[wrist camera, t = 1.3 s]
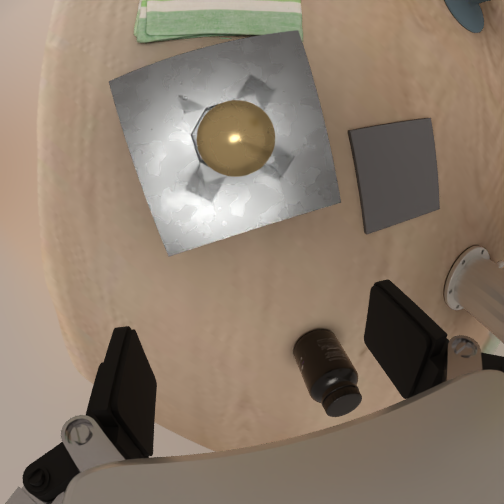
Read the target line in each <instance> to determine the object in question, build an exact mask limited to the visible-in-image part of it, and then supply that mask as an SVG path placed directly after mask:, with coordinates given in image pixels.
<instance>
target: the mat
mask: <svg viewBox="0 0 504 504" xmlns="http://www.w3.org/2000/svg"><path fill="white" fill-rule="evenodd" d="M348 134H349V139H350V144H351V149H352V154H353V159H354V164H355V170H356V176H357V182H358V188H359V194H360V201H361V208H362V216H363V223H364V232H365V233H366V234H369V233H372V232H375V231H378V230H381V229H384V228H387V227H390V226H393V225H396V224H398V223H401V222H404V221H407V220H410V219H413V218H416V217H418V216H421V215H424V214H427V213H430V212H432V211H435V210H438V209H440V206H439V185H438V172H437V161H436V151H435V143H434V136H433V129H432V122H431V118H424V119H417V120H409V121H402V122H396V123H389V124H383V125H377V126H371V127H366V128H360V129H355V130H350V131H348Z"/></svg>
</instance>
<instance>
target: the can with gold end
mask: <svg viewBox="0 0 504 504" xmlns="http://www.w3.org/2000/svg"><path fill="white" fill-rule="evenodd" d="M274 146H275V130H274V127H273V124H272V122H271V120H270V118H269V117H268V115H267V114H266V113H265V112H264V111H263V110H262V109H261V108H259V107H258V106H256V105H254V104H252V103H250V102H247V101H241V100H232V101H226V102H223V103H220V104H218V105H216V106H215V107H213V108H212V109H211V110H209V111H208V112H207V113H206V115H205V116H204V117H203V119H202V120H201V122H200V124H199V127H198V131H197V147H198V151H199V153H200V155H201V157H202V159H203V160H204V162H205V163H206V164H207V165H208V166H209V167H210V168H211V169H213V170H214V171H216V172H218V173H220V174H222V175H226V176H232V177H239V176H245V175H248V174H251V173H253V172H255V171H257V170H258V169H260V168H261V167H262V166H263V165H264V164H265V163H266V162H267V161H268V160H269V158H270V156H271V154H272V152H273V149H274Z"/></svg>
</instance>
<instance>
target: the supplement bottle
mask: <svg viewBox="0 0 504 504" xmlns="http://www.w3.org/2000/svg"><path fill="white" fill-rule="evenodd" d="M294 356H295V359H296V362H297V364H298V367H299V369H300V372H301V374H302V377H303V379H304V382H305V384H306V387H307V389H308V391H309V394H310V396H311V397H312V399H314V400H315V401H317V402H319V403H322V406H323V408H324V409H325V411H326V414H327V415H328V416H330V417H339V416H343V415H345V414H348V413H349V412H351V411H353V410H354V409H355V408H357V406H358V405H359V404H360V403H361V401H362V400H361V399H362V396H361V394H360V392H359V389H358V387H357V382H358V373H357V371H356V369H355V367H354V366H353V364H352V362H351V361H350V359H349V357H348V356H347V354H346V352H345V351H344V349H343V347H342V346H341V344H340V342H339V341H338V339H337V338H336V336H335V335H334V334H333V333H332V332H330V331H327V330H315V331H312V332H310V333H308V334H306V335H304V336H303V337H302V338H301V339H300V340H299V341H298V342H297V344H296V346H295V349H294Z"/></svg>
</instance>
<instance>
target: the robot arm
mask: <svg viewBox="0 0 504 504" xmlns="http://www.w3.org/2000/svg"><path fill="white" fill-rule="evenodd" d="M503 266H504V262H503V261H502V260H500V261H498V262H497V263H495V262H493V261H492V260H490V256H489V253H488V252H487V250H486V249H485V248H483V247H481V246H472V247H470V248H468V249H467V250H466V251H465V252H463V253H462V254H461V256H460V257H459V258H458V259H457V261H456V262H455V264H454V265H453V267H452V269H451V271H450V273H449V275H448V278H447V281H446V284H445V290H444V298H445V302H446V304H447V305H448V306H449V307H450V308H451V309H453V310H461V309H463V308H464V309H466V310H467V311H468V312H469V313H470V314H471V315H473V316H474V317H475V318H476V319H477V320H478V321H479V322H481V323H482V324H483V325H484V326H485V327H486V328H487V329H488V330H490V331H491V332H492V333H493V334H494V335H495V336H496V337H497V338H498V339H499V340H501V341H502V342H503V343H504V268H502V267H503ZM446 337H447V334H446V333H445V332H444V331H443V330H442V329H441V328H440V327H439V326H438V325H437V324H436V323H435V322H434V321H433V320H432V319H431V318H430V317H429V316H428V315H427V314H426V313H425V312H424V311H423V310H422V309H420V308H419V307H418V306H417V305H416V304H415V303H414V302H413V301H412V300H411V299H410V298H409V297H408V296H406V295H405V294H404V293H403V292H402V291H401V290H400V289H399V288H398V287H397V286H395V285H394V284H393V283H392V282H391V281H390V280H383V281H379V282H376V283H375V284H374V286H373V287H372V288H371V291H370V299H369V307H368V314H367V321H366V328H365V334H364V341H365V344H366V346H367V347H368V349H369V350H370V351H371V353H372V354H373V356H374V357H375V358H376V360H377V361H378V363H379V364H380V365H381V367H382V368H383V370H384V371H385V373H386V374H387V375H388V377H389V378H390V380H391V381H392V383H393V384H394V385H395V387H396V388H397V390H398V391H399V393H400V394H401V396H402V397H403V398H405V399H406V398H407V399H406V400H403V401H401V402H399V403H396V404H394V405H392V406H389V407H387V408H384V409H382V410H379V411H376V412H374V413H371V414H368V415H366V416H363V417H360V418H357V419H354V420H351V421H348V422H345V423H342V424H339V425H336V426H333V427H330V428H326V429H323V430H319V431H316V432H312V433H309V434H305V435H301V436H297V437H293V438H289V439H285V440H280V441H276V442H271V443H266V444H261V445H256V446H251V447H245V448H239V449H233V450H226V451H219V452H212V453H203V454H194V455H184V456H171V457H154V458H149V456H152V455H153V439H154V438H153V437H154V418H155V402H156V389H157V383H156V378H155V376H154V374H153V371H152V369H151V367H150V365H149V362H148V360H147V358H146V355H145V353H144V350H143V348H142V345H141V343H140V340H139V338H138V335H137V333H136V331H135V330H131V328H130V327H129V326H126V327H118V328H115V329H114V331H113V334H112V337H111V340H110V343H109V346H108V350H107V353H106V356H105V359H104V362H102V363H101V364H100V366H99V368H98V372H97V375H96V378H95V382H94V385H93V389H92V393H91V396H90V400H89V404H88V408H87V412H86V415H79V416H75V417H73V418H71V419H69V420H68V421H67V422H66V423H65V424H64V426H63V428H62V431H61V438H62V441H63V442H61V443H60V444H59V445H57V446H56V447H54V448H53V449H52V450H50V451H49V452H47V453H46V454H45V455H43V456H42V457H40V458H39V459H37V460H36V461H34V462H33V463H31V464H30V465H29V466H28V467H27V468H26V469H25V471H24V474H23V484H24V486H23V487H22V489H21V488H20V487H18V488H17V489H16V491H15V492H14V493H13V494H12V496H11V497H10V498H9V499H8V501H7V502H6V503H5V504H504V357H502V356H497V355H491V354H486V353H481V349H480V346H479V344H478V343H477V342H476V341H475V340H474V339H472V338H470V337H468V336H463V335H459V336H454V337H453V338H451V339H450V341H449V340H448V339H447V338H446Z"/></svg>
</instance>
